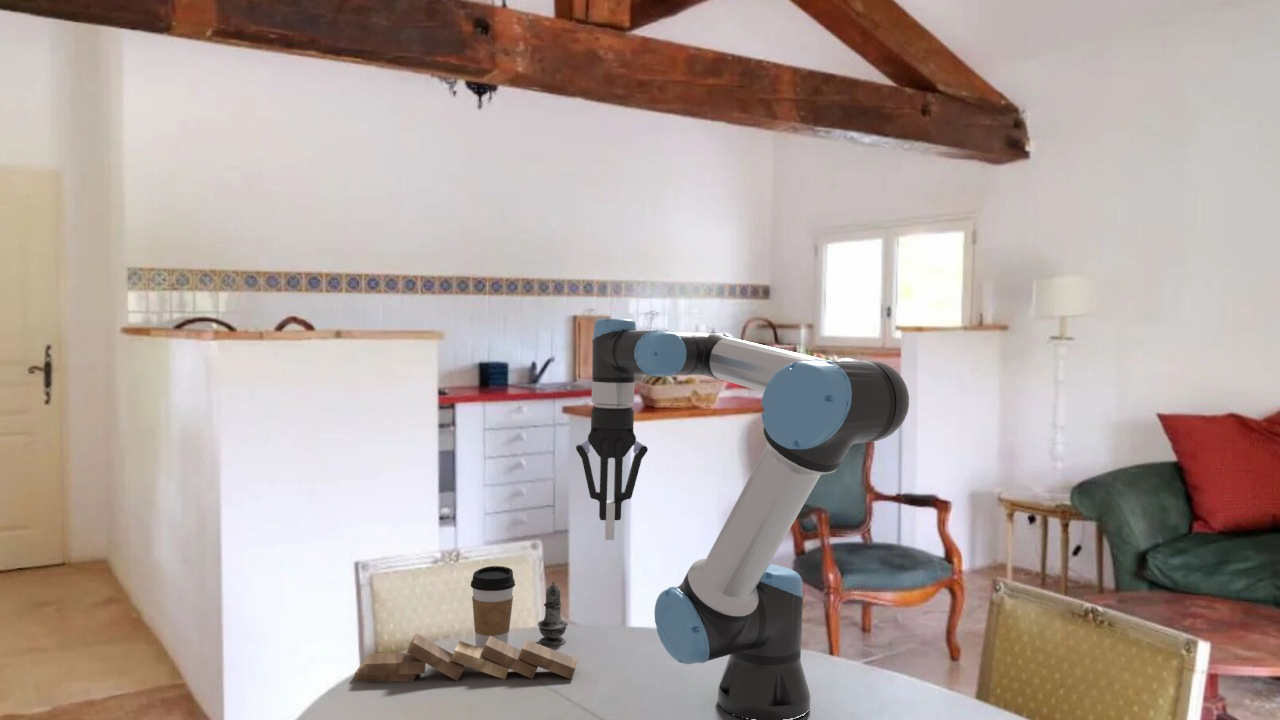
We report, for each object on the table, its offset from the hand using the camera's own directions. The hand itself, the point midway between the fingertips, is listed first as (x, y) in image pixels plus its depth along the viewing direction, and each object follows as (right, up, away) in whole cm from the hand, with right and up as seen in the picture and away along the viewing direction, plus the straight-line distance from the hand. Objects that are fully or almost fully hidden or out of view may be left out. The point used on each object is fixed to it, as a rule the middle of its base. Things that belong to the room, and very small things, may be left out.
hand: (609, 538), depth 167 cm
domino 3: (-26, -23, -2) cm, 35 cm away
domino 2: (-32, -21, -2) cm, 39 cm away
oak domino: (-18, -23, -1) cm, 29 cm away
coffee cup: (-23, -24, +12) cm, 35 cm away
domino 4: (-13, -23, 0) cm, 27 cm away
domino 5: (-6, -23, 0) cm, 24 cm away
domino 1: (-34, -23, -3) cm, 41 cm away
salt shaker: (-12, -24, +17) cm, 32 cm away
